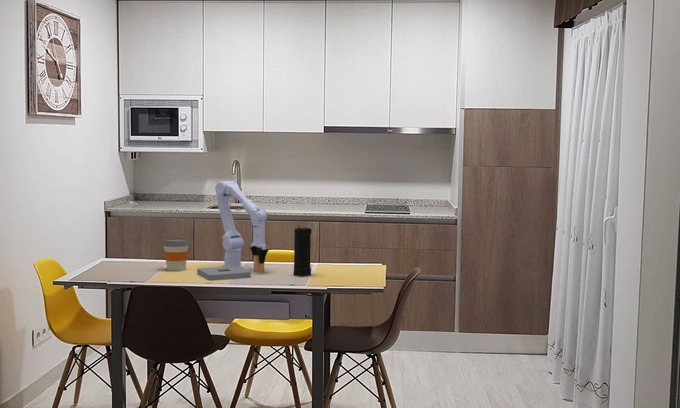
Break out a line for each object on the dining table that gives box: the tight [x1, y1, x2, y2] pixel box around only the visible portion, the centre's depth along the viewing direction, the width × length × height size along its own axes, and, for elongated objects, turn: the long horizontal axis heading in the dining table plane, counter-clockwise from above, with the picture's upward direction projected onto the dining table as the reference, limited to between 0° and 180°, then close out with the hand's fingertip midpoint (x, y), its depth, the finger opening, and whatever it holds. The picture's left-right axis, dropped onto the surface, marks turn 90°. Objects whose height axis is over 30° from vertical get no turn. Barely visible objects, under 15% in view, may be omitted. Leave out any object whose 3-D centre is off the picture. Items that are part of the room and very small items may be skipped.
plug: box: [253, 255, 265, 274], centre depth 391 cm, size 4×4×8 cm
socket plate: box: [196, 266, 252, 282], centre depth 380 cm, size 20×20×2 cm
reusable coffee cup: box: [162, 237, 190, 272], centre depth 396 cm, size 13×13×15 cm
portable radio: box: [293, 226, 312, 277], centre depth 382 cm, size 8×6×25 cm
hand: (259, 262), depth 391 cm, fingers open, 7 cm apart
